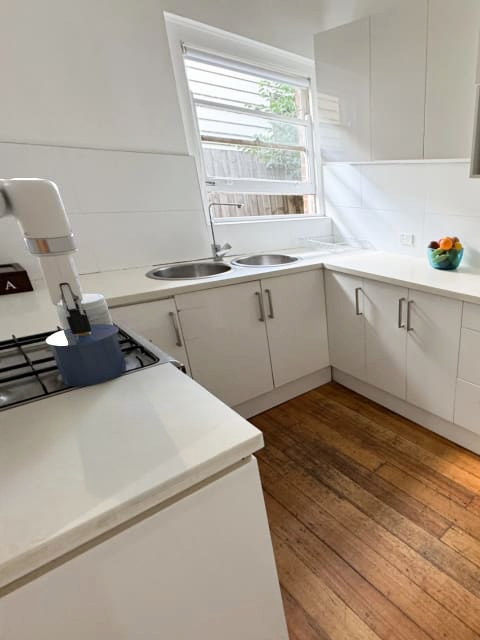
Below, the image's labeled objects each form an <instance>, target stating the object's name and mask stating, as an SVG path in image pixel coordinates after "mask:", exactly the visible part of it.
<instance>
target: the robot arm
mask: <svg viewBox="0 0 480 640" xmlns="http://www.w3.org/2000/svg"><path fill="white" fill-rule="evenodd" d="M61 196H62V195H61V194H60V191H59V188H58V186H57V184H56V183H54V182H53V181H52V180H50V179H47V178H46V179H45V178H10V179H1V178H0V219H5V218H13V217H14V219H15V221H16V224H17V227H18V229H19V232H20V235H21V237H22V240H23V243H24V246H25V248H26V250H27V253H28V255H29V256H31V257H36V258H37V263H38V265H39V268H40V272H41V274H42V278H43V281H44V283H45V286H46V290H47V292H48V296H49V297H50V301H51V303H52V305H54V306H55V305H57V303H60V300H62V303H63V306H64V309H65V312H66V314H67V317H66V318H67V321H68V323H69V326H70V329H71V331H72V334H80V333H86V332H90V331H91V328H90V323H89V320H88V317H87V314H86V311H85V310H83V306H82V303H81V301H82V300H83V295H82V294H83V289H82V284H81V279H80V276H79V272H78V269H77V266H76V263H75V260H74V257H73V254H75V253H77V252H79V249H78V245H77V241H76V239H75V236H74V232H73V230H72V227H71V225H70V224H71V223H70V222H69V218H68V215H67V212H66V209H65V205H64V202H63V200H62V197H61ZM79 310H80V311H79Z"/></svg>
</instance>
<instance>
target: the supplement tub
mask: <svg viewBox="0 0 480 640" xmlns="http://www.w3.org/2000/svg"><path fill="white" fill-rule="evenodd" d="M82 295H83V300H82V301H81V303H82V306H83V310H85V311H86V314H87V317H88V320H89V323H90V325H94V324H109V325H114V324H113V320H112V317H111V313H110V310H109V306H108V303H107V300H106V299H105V296H104V295H103V294H100V293H82ZM54 306H55V311H56V313H57V316H58V319H59V322H60V324H61V328H62V331H63V330H66V329H70V326H69V323H68V321H67V318H66V317H67V314H66V312H65V309H64V306H63V303H62V300H60V303H57V305H54Z"/></svg>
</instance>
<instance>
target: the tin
mask: <svg viewBox="0 0 480 640" xmlns="http://www.w3.org/2000/svg"><path fill="white" fill-rule="evenodd" d="M49 348H50V351H51V354H52V356H53V358H54V361H55V363H56V367H57V368H58V371H59V373H60V376H61V379H62V382H64V384H65V385H67V386H69V387H89V386H95V385H98V384H102V383H103V384H104V383H106V382H109V381H111V380H112V381H113V380H114V379H116V378H118V377H121V375H123V374H124V373H125V372H126V371H127V364H126V361H125V357H124V354H123V351H122V348H121V345H120V341H119V339H118V335H117V334H116V335H114V336H113V337H111V338H109V339H106V340H104V341H100V342H97V343H93V344H89V345H84V346H78V347H68V348H57V347H51V346H49Z"/></svg>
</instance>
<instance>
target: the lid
mask: <svg viewBox="0 0 480 640" xmlns="http://www.w3.org/2000/svg"><path fill="white" fill-rule="evenodd" d="M79 311H80V310H79ZM90 328H91V331H90V332H86V333H80V334H72V331H71V329H66V330H63V329H62V330H60V331H57V332H54V333H53V334H50V336H48V337H47V338H46V339H45V343H46V345H47V346H49V347H50V346H51V347H57V348H68V347H78V346H84V345H89V344H93V343H97V342H100V341H104V340H106V339H109V338H111V337H113V336H114V335H117V334H118V333H119V328H118V326H116V325H114V324H113V325H109V324H94V325H90Z"/></svg>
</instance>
